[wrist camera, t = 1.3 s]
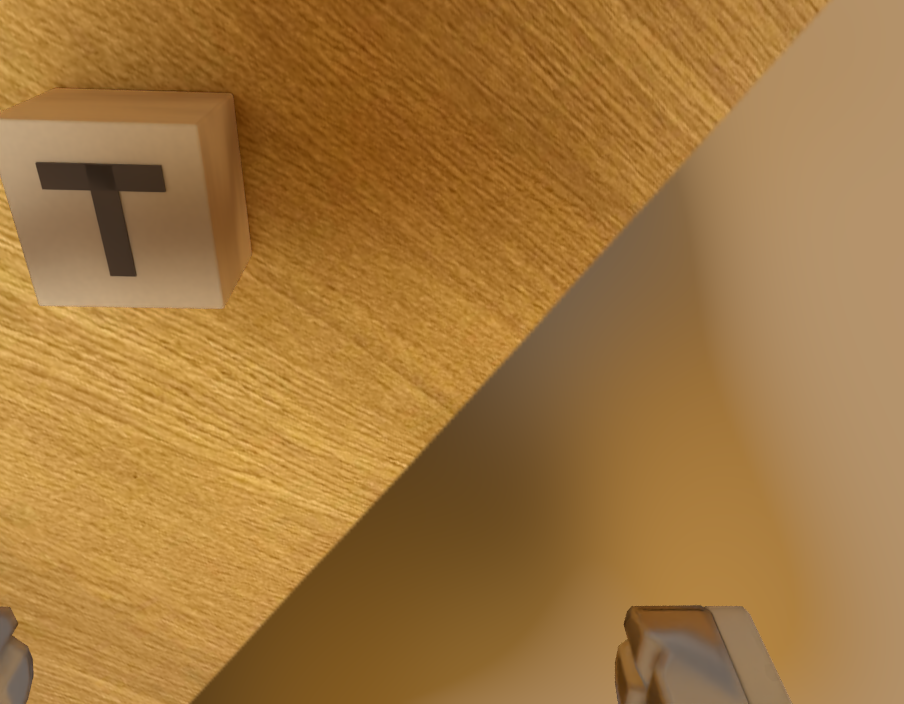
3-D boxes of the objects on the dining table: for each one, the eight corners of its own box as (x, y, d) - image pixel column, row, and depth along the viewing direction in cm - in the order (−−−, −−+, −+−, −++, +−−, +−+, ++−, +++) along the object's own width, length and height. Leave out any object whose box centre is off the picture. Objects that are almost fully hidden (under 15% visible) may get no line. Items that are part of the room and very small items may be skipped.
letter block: (53, 87, 24) (-21, 119, 20) (233, 92, 24) (196, 125, 20) (93, 252, 27) (36, 308, 23) (252, 255, 27) (223, 311, 23)
